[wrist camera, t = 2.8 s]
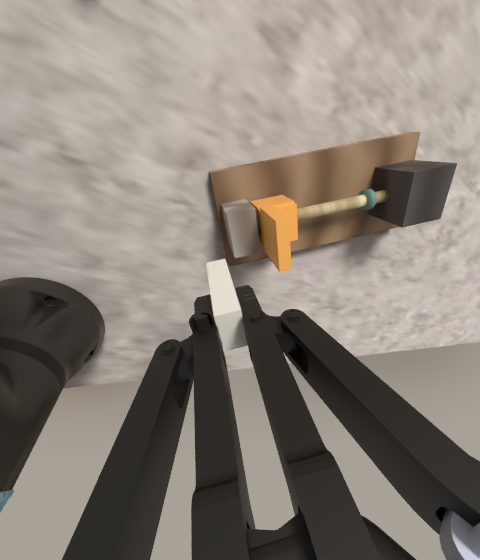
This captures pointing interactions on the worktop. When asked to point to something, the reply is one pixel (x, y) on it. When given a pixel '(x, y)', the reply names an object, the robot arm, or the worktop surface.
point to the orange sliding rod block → (277, 228)
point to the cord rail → (332, 193)
